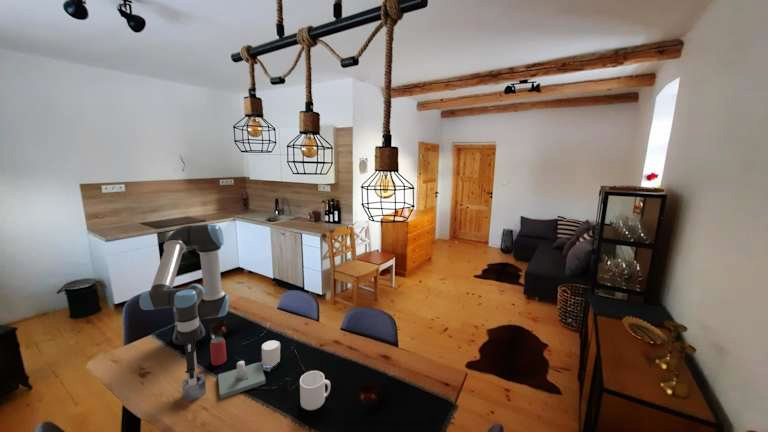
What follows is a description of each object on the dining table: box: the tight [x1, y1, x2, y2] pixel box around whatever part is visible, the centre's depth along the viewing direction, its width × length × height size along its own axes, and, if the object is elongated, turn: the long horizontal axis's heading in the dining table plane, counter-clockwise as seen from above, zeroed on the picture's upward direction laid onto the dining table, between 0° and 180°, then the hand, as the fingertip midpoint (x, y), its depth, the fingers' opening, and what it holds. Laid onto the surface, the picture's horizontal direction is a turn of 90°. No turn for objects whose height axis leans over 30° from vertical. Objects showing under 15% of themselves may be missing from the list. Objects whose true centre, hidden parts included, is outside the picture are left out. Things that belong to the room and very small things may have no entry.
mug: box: [299, 370, 332, 411], centre depth 125 cm, size 13×10×10 cm
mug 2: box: [261, 339, 281, 366], centre depth 150 cm, size 12×9×8 cm
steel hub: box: [181, 373, 207, 402], centre depth 128 cm, size 8×8×6 cm
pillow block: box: [217, 360, 267, 400], centre depth 135 cm, size 14×18×9 cm
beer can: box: [209, 336, 227, 366], centre depth 148 cm, size 7×7×12 cm
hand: (192, 374), depth 127 cm, fingers open, 13 cm apart
